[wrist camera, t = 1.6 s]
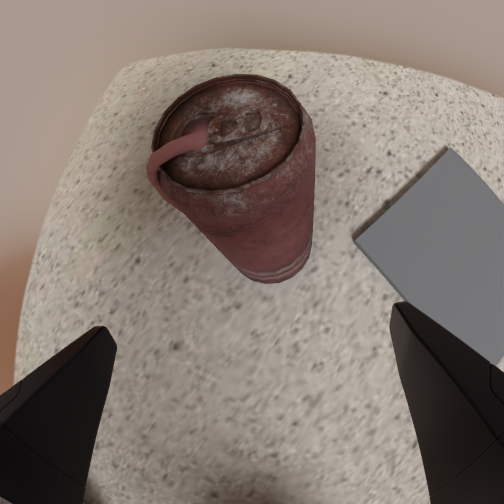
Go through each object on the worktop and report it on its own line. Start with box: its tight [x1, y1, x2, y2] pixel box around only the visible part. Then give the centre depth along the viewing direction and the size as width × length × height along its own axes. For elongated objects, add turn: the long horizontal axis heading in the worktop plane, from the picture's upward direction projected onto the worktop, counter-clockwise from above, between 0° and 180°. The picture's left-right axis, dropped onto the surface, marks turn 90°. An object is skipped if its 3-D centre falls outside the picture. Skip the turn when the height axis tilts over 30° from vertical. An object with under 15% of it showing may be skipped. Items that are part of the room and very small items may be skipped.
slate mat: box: [354, 147, 504, 366], centre depth 19 cm, size 16×14×1 cm
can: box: [147, 74, 316, 284], centre depth 16 cm, size 6×6×14 cm
